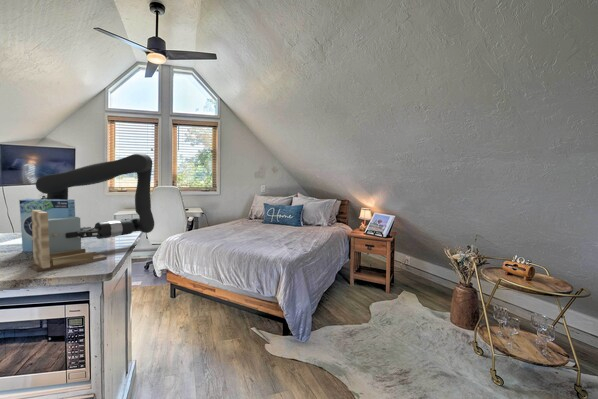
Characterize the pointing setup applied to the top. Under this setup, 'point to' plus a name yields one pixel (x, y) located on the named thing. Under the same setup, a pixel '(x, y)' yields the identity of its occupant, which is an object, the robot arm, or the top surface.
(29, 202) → the gum box
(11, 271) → the top surface
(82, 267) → the top surface
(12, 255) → the top surface
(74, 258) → the hinge base
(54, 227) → the grey flat block
